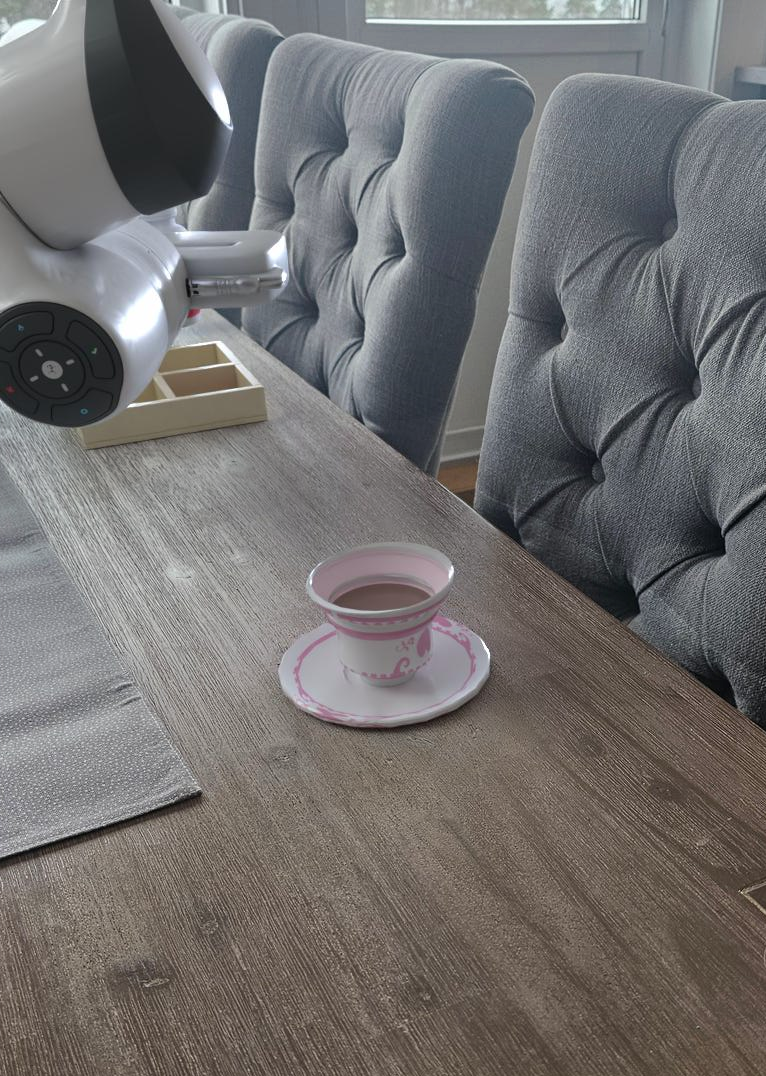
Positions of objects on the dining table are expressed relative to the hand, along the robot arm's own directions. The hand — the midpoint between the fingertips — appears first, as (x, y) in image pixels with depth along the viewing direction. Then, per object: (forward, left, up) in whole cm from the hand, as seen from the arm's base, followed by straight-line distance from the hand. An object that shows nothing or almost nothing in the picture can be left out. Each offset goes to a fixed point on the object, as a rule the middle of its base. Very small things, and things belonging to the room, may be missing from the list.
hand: (155, 244), depth 82 cm
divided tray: (-6, +13, -17) cm, 22 cm away
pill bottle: (0, -1, -6) cm, 6 cm away
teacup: (+18, -32, -17) cm, 41 cm away
